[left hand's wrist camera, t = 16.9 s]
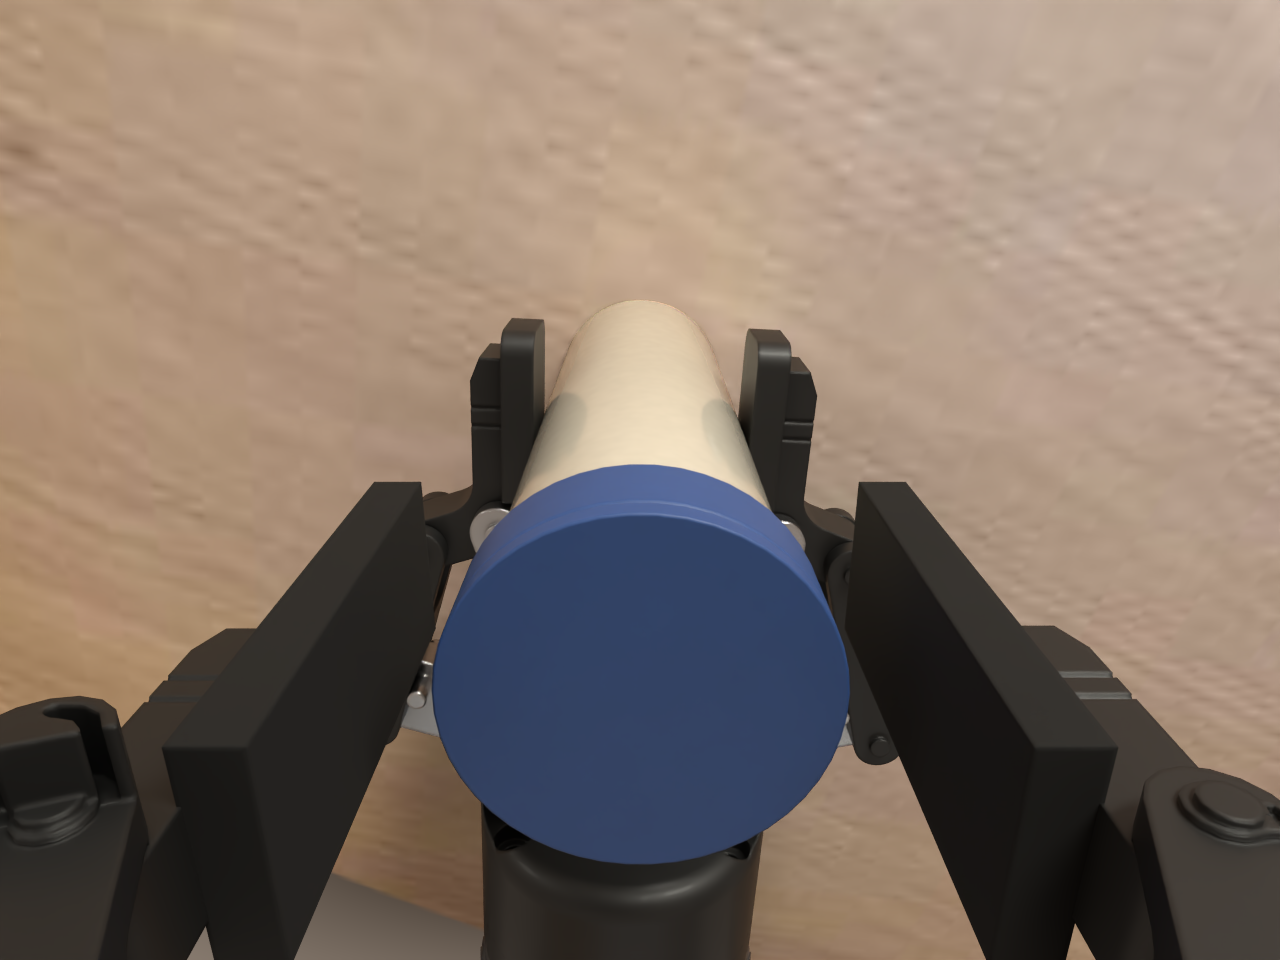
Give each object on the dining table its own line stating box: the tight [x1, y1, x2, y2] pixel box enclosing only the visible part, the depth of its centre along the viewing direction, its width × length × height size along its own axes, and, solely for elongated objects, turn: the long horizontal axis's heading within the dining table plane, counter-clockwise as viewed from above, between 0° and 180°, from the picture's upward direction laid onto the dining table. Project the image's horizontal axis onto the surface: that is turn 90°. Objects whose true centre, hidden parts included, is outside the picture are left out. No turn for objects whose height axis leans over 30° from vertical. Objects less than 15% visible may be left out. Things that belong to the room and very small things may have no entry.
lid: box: [431, 464, 850, 864], centre depth 11 cm, size 5×5×2 cm
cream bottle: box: [509, 300, 772, 512], centre depth 18 cm, size 5×5×16 cm
